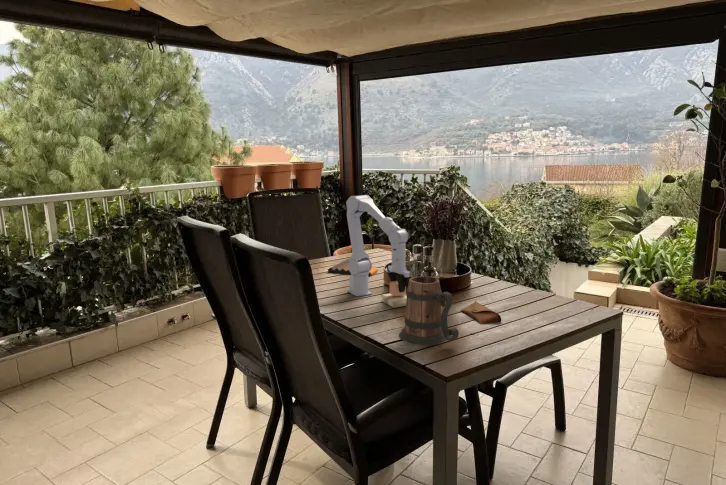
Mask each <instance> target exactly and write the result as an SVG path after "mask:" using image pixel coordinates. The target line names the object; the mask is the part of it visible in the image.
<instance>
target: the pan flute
mask: <svg viewBox="0 0 726 485" xmlns="http://www.w3.org/2000/svg"><path fill="white" fill-rule="evenodd" d="M378 271H379V269H378V268H377V267H376V266H374V267H373V266H372V268H371V270H370V271H369V274H368V277H372V276H374V275H375V274H376V272H377V273H378ZM327 272H328V273H329V274H338V273H339V274H340V275H341V274H342V275H349V274H351V273H350V271H349V258H348V259H345V260H343V261H340V262H339V263H337V264H335V265H333V266H331V267H329V268H328V269H327ZM373 274H374V275H373ZM371 275H372V276H371Z"/></svg>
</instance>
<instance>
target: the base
mask: <svg viewBox="0 0 726 485" xmlns="http://www.w3.org/2000/svg"><path fill="white" fill-rule="evenodd" d="M381 300H382V303H384V304H386V305H389V307H392V308H394V309H395V308H400V307H406V300H407V296H406V295H401V296H394V295H392V294H390V292H389V293H384V294H382V295H381Z"/></svg>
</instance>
